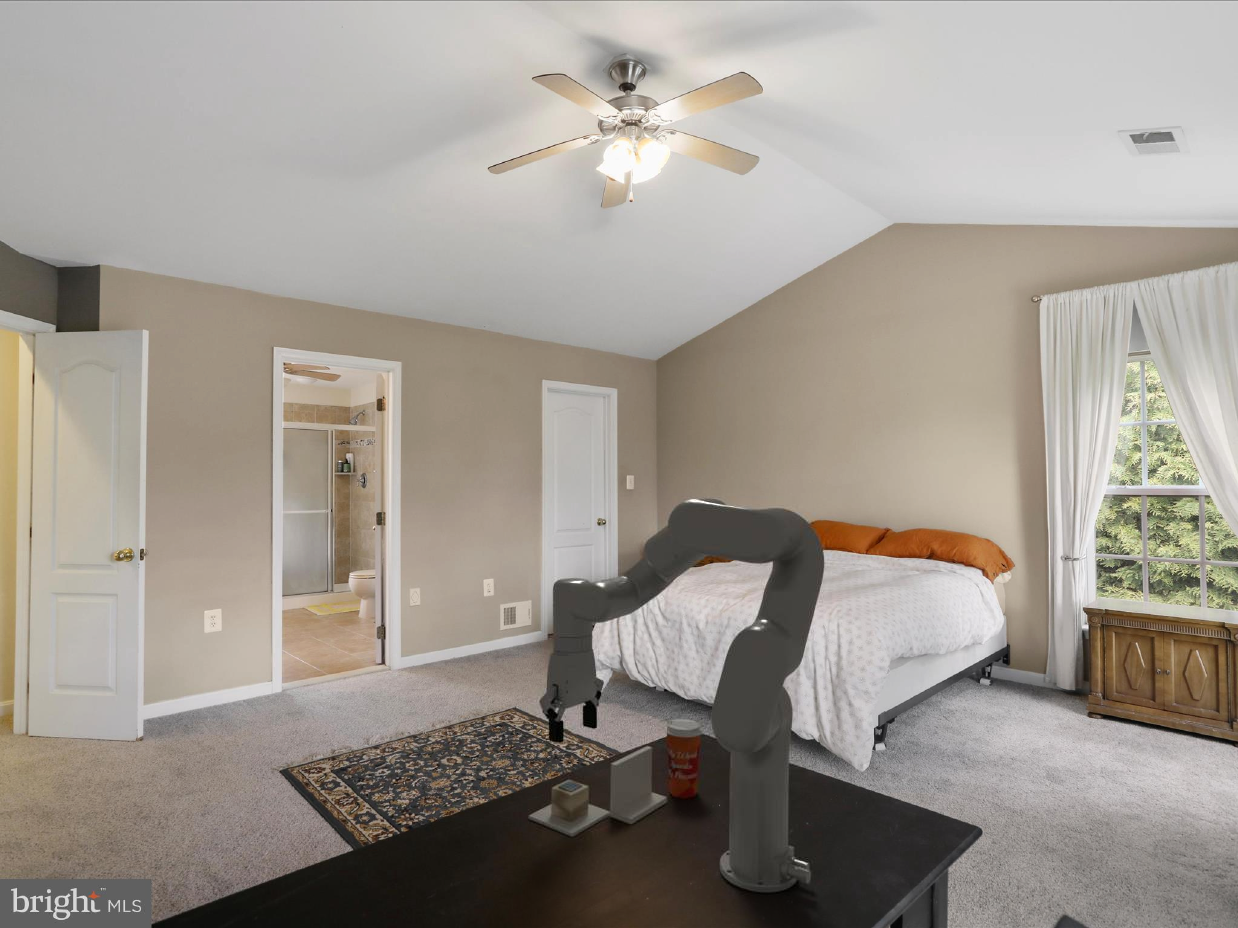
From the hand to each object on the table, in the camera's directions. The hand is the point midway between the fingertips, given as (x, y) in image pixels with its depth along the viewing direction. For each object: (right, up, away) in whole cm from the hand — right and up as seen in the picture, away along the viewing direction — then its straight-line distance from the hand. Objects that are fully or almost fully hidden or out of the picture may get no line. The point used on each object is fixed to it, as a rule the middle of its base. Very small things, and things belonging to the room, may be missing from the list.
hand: (573, 733), depth 136 cm
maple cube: (-1, -15, 0) cm, 15 cm away
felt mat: (-1, -16, 0) cm, 16 cm away
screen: (+13, -16, +3) cm, 21 cm away
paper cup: (+22, -17, +11) cm, 30 cm away
